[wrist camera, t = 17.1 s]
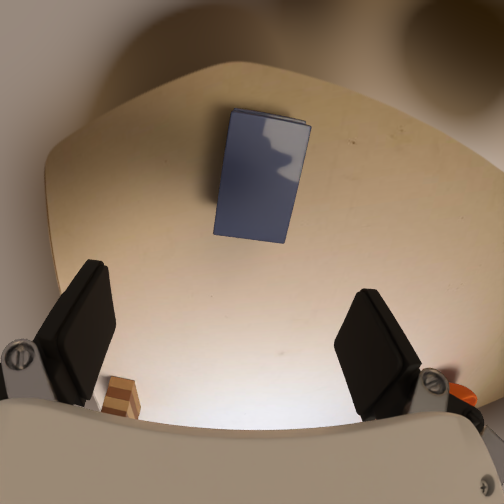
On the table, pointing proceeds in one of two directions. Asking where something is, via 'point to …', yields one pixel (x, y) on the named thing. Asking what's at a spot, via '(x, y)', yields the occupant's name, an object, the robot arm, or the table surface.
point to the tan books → (121, 398)
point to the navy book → (260, 176)
